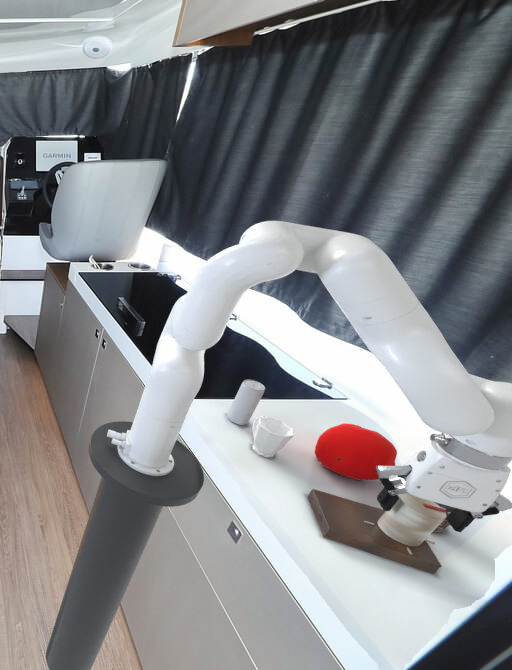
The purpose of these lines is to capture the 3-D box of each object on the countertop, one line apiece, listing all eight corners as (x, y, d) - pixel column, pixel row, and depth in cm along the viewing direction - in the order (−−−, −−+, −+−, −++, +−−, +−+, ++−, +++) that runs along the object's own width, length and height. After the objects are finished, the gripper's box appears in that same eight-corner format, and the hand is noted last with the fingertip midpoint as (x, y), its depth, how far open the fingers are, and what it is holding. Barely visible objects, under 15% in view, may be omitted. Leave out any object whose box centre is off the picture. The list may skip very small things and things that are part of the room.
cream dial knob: (384, 538, 81) (409, 510, 77) (372, 513, 85) (394, 486, 81) (427, 551, 78) (455, 523, 74) (411, 526, 83) (437, 498, 79)
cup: (254, 459, 101) (267, 434, 98) (234, 430, 110) (246, 407, 106) (286, 463, 100) (301, 439, 96) (264, 434, 109) (277, 410, 105)
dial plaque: (323, 537, 83) (329, 529, 82) (307, 496, 92) (312, 488, 91) (442, 577, 77) (451, 568, 75) (412, 528, 85) (420, 520, 84)
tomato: (322, 488, 98) (365, 479, 100) (383, 480, 87) (430, 471, 89) (291, 434, 103) (333, 427, 106) (344, 420, 92) (389, 413, 95)
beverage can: (249, 420, 114) (267, 385, 108) (245, 428, 111) (263, 393, 105) (228, 411, 117) (245, 377, 111) (224, 419, 114) (241, 384, 108)
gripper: (414, 447, 72) (364, 512, 80) (567, 483, 65) (495, 551, 73) (394, 420, 78) (349, 484, 86) (532, 451, 71) (469, 517, 79)
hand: (416, 515), depth 79 cm, fingers open, 9 cm apart
